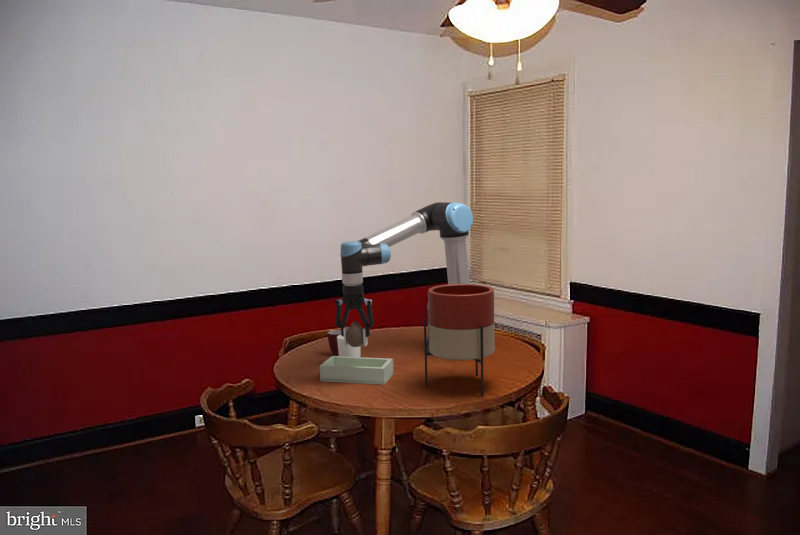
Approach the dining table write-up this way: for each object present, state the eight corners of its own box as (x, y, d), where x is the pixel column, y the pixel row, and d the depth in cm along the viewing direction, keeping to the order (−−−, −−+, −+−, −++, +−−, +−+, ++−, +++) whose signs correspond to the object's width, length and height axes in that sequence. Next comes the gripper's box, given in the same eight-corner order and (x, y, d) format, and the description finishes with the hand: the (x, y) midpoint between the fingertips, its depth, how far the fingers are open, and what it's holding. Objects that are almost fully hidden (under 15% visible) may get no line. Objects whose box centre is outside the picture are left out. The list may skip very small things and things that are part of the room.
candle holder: (365, 362, 261) (364, 334, 259) (356, 369, 252) (355, 340, 250) (344, 360, 264) (342, 332, 262) (334, 367, 255) (332, 338, 253)
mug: (353, 351, 277) (352, 329, 276) (352, 357, 269) (351, 334, 268) (329, 352, 277) (328, 330, 276) (327, 357, 270) (326, 334, 268)
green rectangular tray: (393, 373, 245) (392, 358, 244) (384, 384, 232) (383, 368, 231) (332, 370, 251) (331, 356, 250) (320, 381, 238) (319, 365, 237)
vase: (346, 343, 237) (345, 321, 236) (365, 342, 238) (363, 319, 237) (347, 348, 231) (345, 325, 229) (366, 347, 231) (364, 324, 230)
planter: (425, 376, 241) (422, 284, 236) (491, 374, 240) (490, 283, 235) (425, 397, 217) (423, 296, 212) (498, 396, 217) (498, 294, 212)
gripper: (381, 282, 232) (384, 342, 235) (330, 282, 236) (334, 341, 240) (376, 285, 225) (379, 348, 228) (323, 285, 229) (327, 347, 233)
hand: (356, 344), depth 234 cm, fingers closed on vase, 7 cm apart
